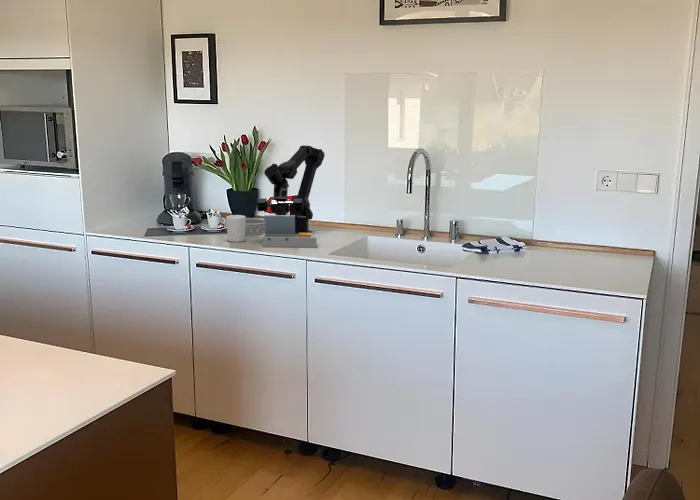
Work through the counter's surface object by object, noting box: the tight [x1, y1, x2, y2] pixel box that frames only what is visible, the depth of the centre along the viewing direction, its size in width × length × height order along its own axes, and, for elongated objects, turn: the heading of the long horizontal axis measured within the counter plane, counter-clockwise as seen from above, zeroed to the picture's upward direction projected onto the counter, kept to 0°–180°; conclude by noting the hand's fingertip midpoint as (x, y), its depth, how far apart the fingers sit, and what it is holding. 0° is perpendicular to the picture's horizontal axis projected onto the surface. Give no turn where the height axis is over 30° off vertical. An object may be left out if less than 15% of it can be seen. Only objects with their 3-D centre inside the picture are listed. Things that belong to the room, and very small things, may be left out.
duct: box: [261, 233, 317, 249], centre depth 291 cm, size 8×22×4 cm, turn 93°
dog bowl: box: [245, 217, 265, 237], centre depth 318 cm, size 17×18×5 cm
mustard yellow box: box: [298, 232, 312, 237], centre depth 300 cm, size 4×5×4 cm
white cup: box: [225, 214, 247, 243], centre depth 298 cm, size 8×8×10 cm
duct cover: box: [264, 214, 296, 235], centre depth 291 cm, size 9×12×1 cm
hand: (279, 221), depth 290 cm, fingers closed
